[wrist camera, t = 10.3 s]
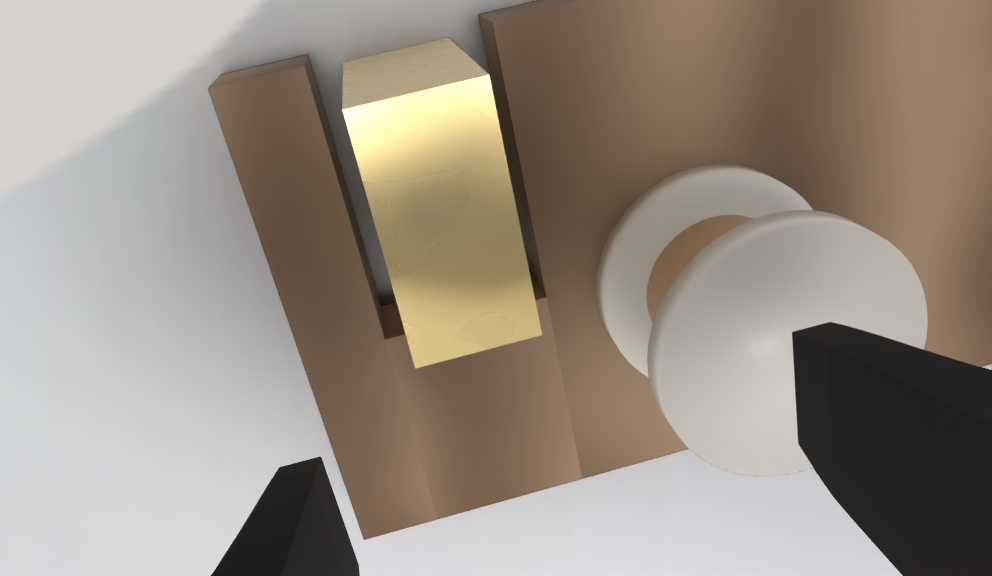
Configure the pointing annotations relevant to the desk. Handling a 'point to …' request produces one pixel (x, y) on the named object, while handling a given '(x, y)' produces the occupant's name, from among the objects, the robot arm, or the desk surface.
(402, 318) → the brass tab
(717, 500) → the desk surface
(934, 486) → the robot arm
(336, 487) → the desk surface
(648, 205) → the bobbin
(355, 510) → the notched board
